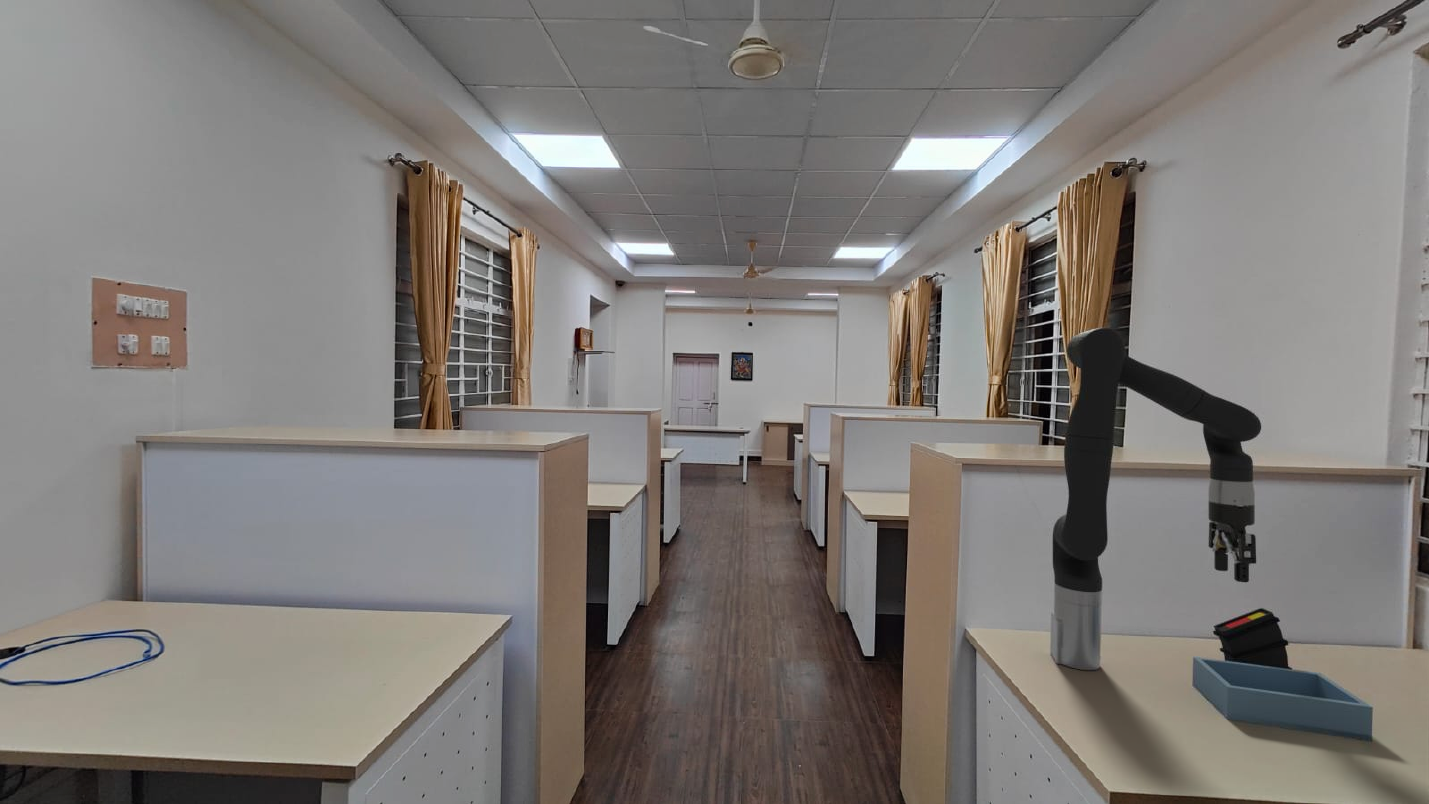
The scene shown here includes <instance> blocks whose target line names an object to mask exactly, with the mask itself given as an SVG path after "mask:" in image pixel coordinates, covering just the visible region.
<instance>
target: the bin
mask: <svg viewBox="0 0 1429 804" xmlns="http://www.w3.org/2000/svg"><path fill="white" fill-rule="evenodd" d="M1191 684H1192V686H1193V687H1194V688H1195V689H1196V690H1197V691H1198V692H1199V693H1200V694H1201V696H1203V697H1204V698H1205V699H1206V700H1207V701H1208V702H1209V703H1210V704H1211V706H1213V707H1214V708H1215V709H1216V710H1217V711H1218V712H1219V714H1221V715H1222V716H1223V717H1224V718H1225V719H1226V720H1231V721H1238V722H1244V723H1245V722H1246V723H1251V724H1256V725H1257V724H1258V725H1264V726H1270V727H1275V728H1276V727H1277V728H1284V729H1290V730H1296V731H1303V732H1309V733H1315V734H1320V735H1321V734H1322V735H1329V736H1334V737H1335V736H1336V737H1341V738H1342V737H1343V738H1348V739H1354V740H1361V741H1367V742H1372V741H1373V709H1374V707H1373V706H1372V705H1370V704H1368V703H1367V702H1365V701H1364V700H1362V699H1361V698H1359V697H1357V696H1356V695H1354V694H1353V693H1351V692H1350V691H1349V690H1347V689H1345V688H1344V687H1342V686H1341V685H1339V684H1337V683H1336V682H1334V681H1333V680H1331V679H1330V678H1329V677H1326V676H1325V675H1324V674H1322V673H1321V672H1315V671H1307V670H1301V669H1300V670H1299V669H1293V668H1292V669H1285V668H1277V667H1270V666H1262V665H1254V664H1247V663H1239V662H1231V661H1225V660H1224V659H1222V660H1221V659H1213V658H1207V657H1199V656H1193V657H1192V683H1191Z"/></svg>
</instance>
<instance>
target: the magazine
mask: <svg viewBox="0 0 1429 804" xmlns="http://www.w3.org/2000/svg"><path fill="white" fill-rule="evenodd" d="M1279 622H1281V620H1280V619H1279V617H1277V616H1275V615H1274V613H1273V612H1272V611H1270V610H1267V609H1266V608H1263V607H1260V608H1257V609H1254V610H1252V611H1249V612H1247V613H1243V614H1242V615H1239V616H1236V617H1233V618H1231V619H1228V620H1226V621H1224V622H1221V623H1218V624H1215V625H1213V628H1214V630H1213V631H1212V633H1213V635H1214V636H1216V637H1218V639H1219V641H1220V643H1221V647H1220V648H1219V652H1221V653H1223V656H1224V661H1231V662H1239V663H1247V664H1254V665H1262V666H1270V667H1277V668H1285V669H1293V668H1292V667H1290V666H1289V658H1288V656H1289V655H1288V651H1287V649H1286V648H1287V647H1286V646H1290V645H1289V641H1288V640H1287V639H1285V638H1284V636H1283V633H1282V630H1281V627H1280V626H1279Z"/></svg>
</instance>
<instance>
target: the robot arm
mask: <svg viewBox="0 0 1429 804" xmlns="http://www.w3.org/2000/svg"><path fill="white" fill-rule="evenodd" d="M1066 354H1067V358H1068V360H1069V362H1070V363H1071V364H1072V365H1073V366H1075V367H1076V368H1077V369H1080V384H1079V390H1078V395H1077V397H1076V400H1075V403H1074V406H1073V408H1072V410H1071V413H1070V415H1069V418H1068V421H1067V425H1066V429H1065V437H1064V448H1063V458H1064V459H1063V461H1064V468H1065V474H1066V475H1065V476H1066V482H1067V489H1068V490H1067V491H1068V501H1067V509H1066V514H1063V515H1062V516H1060V517H1059V518H1058V519H1057V520H1056V521H1055V523H1054V526H1053V531H1052V569H1053V575H1054V581H1053V582H1054V588H1053V589H1054V591H1053V593H1054V594H1053V612H1051V614H1050V645H1049V646H1050V647H1049V648H1050V650H1049V653H1050V655H1051V657H1052V658H1053V660H1054V662H1055V664H1058V665H1059V664H1060V665H1062V666H1063V665H1064V666H1066V667H1069V668H1072V669H1076V670H1083V671H1096V670H1099V669H1100V668H1101V661H1102V660H1101V659H1102V658H1101V657H1102V656H1101V645H1102V644H1101V643H1102V609H1103V608H1102V607H1103V606H1102V605H1103V577H1102V574H1101V571H1100V565H1099V557H1100V556H1101V555H1102V554H1103V553H1104V552H1105V550H1106V549H1107V546H1108V535H1109V534H1108V515H1107V514H1108V512H1107V511H1108V510H1107V508H1108V507H1107V504H1108V502H1107V501H1108V492H1109V491H1108V490H1109V485H1110V480H1111V479H1110V478H1111V470H1112V469H1111V468H1112V467H1111V466H1112V459H1113V455H1114V454H1113V452H1114V442H1115V424H1116V412H1117V411H1116V409H1117V397H1118V396H1117V395H1118V388H1119V384H1120V385H1122V386H1123V387H1126V388H1128V389H1129V390H1132V391H1133V392H1135V393H1137V394H1139V395H1141V396H1143V397H1144V398H1147V399H1148V400H1150V401H1152V402H1153V403H1156V405H1157V404H1158V406H1161V407H1163V408H1165V409H1166V410H1168V411H1170V412H1171V413H1174V414H1175V415H1177V416H1178V417H1181V418H1183V419H1185V420H1188V421H1192V422H1196V423H1200V424H1201V425H1202V433H1203V438H1204V443H1205V447H1206V450H1207V454H1208V456H1209V459H1210V460H1209V461H1210V463H1209V485H1208V520H1209V525H1208V547H1209V548H1210V549H1212V552H1213V553H1214V556H1213V557H1214V560H1213V561H1214V562H1213V563H1214V566H1213V567H1214V570H1216V571H1219V572H1227V571H1228V570H1229V554H1231V556H1232V558H1233V562H1234V564H1233V566H1234V567H1233V571H1234V572H1233V576H1234V577H1233V579H1234V581H1236V582H1239V583H1248V582H1250V572H1249V571H1250V565H1252V564H1253V565H1254V564H1257V545H1256V544H1257V540H1256V535H1255V534H1254V533H1247V530H1246V527H1247V526H1253V525H1254V524H1255V522H1256V520H1255V519H1256V518H1255V517H1256V514H1255V508H1256V507H1255V495H1256V494H1255V492H1256V491H1255V488H1254V464H1253V463H1254V462H1253V458H1252V457H1251V456H1250V455H1249V454H1248V453H1245V451H1243V446H1242V442H1249V441H1251V440H1254V439H1255V438H1257V437H1258V436H1259V434H1260V433H1261V431H1262V423H1261V420H1260V418H1259V416H1258V415H1256V414H1255V412H1252V411H1251V410H1249V409H1248V408H1245V407H1244V406H1242V405H1239V404H1237V403H1235V402H1231V401H1229V400H1227V399H1224V398H1223V397H1218V396H1216V395H1213V394H1211V393H1209V392H1208V391H1206V390H1204V389H1203V388H1201V387H1199V386H1197V385H1195V384H1193V383H1191V382H1190V381H1188V380H1186V379H1183V378H1182V377H1179V376H1177V375H1175V374H1172V373H1170V372H1168V371H1165V370H1161V369H1159V368H1156V367H1152V366H1150V365H1147V364H1144V363H1143V362H1140V361H1139V360H1136V359H1135V358H1133V357H1130V356H1129V355H1127V354H1126V344H1125V341H1124V339H1123V337H1122V335H1121V334H1120V333H1119V332H1118V331H1117V330H1115V329H1113V328H1111V327H1097V328H1093V329H1089V330H1086V331H1082V332H1079V333H1078V334H1076V335H1075V336H1073V337H1072V338H1071V339H1070V340H1069V342H1068V344H1067V346H1066Z"/></svg>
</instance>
